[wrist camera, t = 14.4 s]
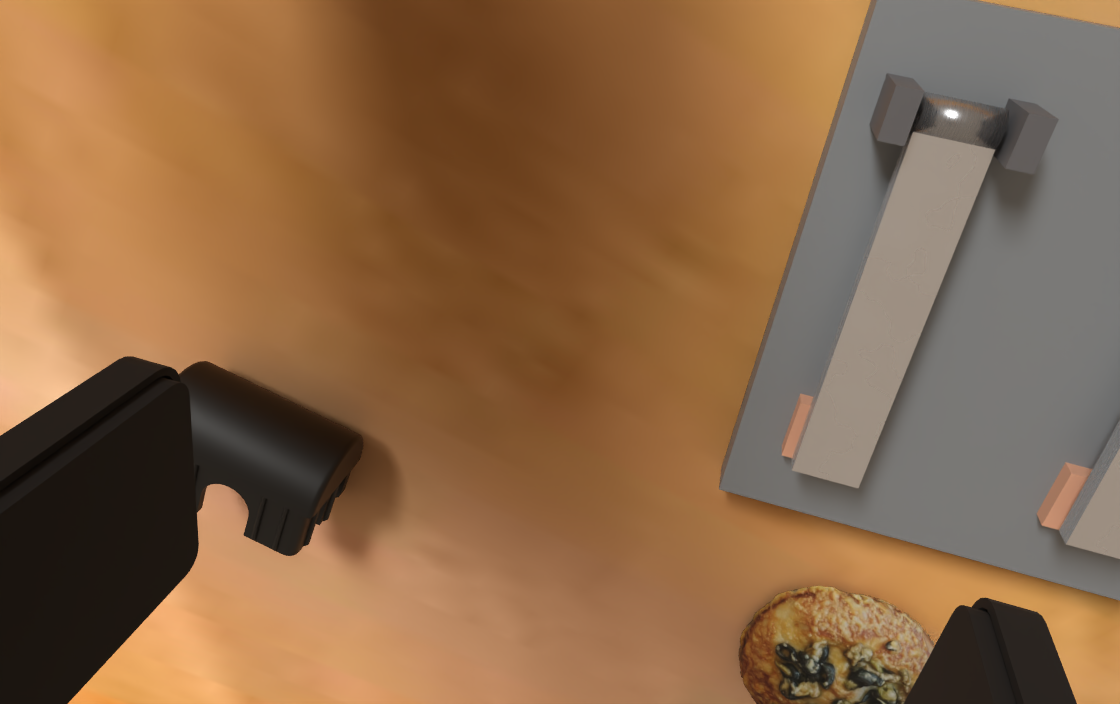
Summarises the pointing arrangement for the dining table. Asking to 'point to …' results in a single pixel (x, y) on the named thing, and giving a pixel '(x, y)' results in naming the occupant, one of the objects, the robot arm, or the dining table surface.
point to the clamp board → (965, 296)
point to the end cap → (267, 455)
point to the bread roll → (831, 650)
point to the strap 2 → (1098, 505)
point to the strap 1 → (897, 283)
